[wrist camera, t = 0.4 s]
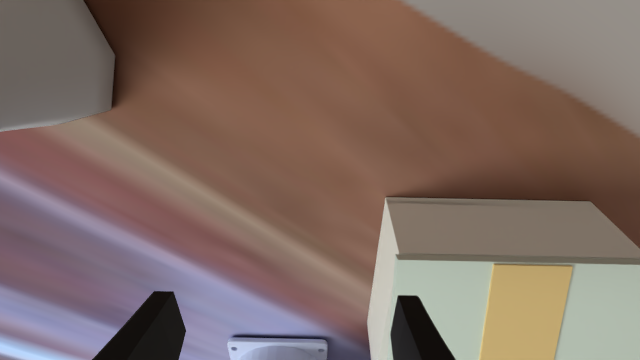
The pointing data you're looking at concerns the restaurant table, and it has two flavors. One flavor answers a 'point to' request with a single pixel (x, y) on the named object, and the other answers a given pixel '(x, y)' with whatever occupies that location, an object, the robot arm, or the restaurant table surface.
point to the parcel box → (484, 239)
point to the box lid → (526, 305)
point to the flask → (52, 64)
